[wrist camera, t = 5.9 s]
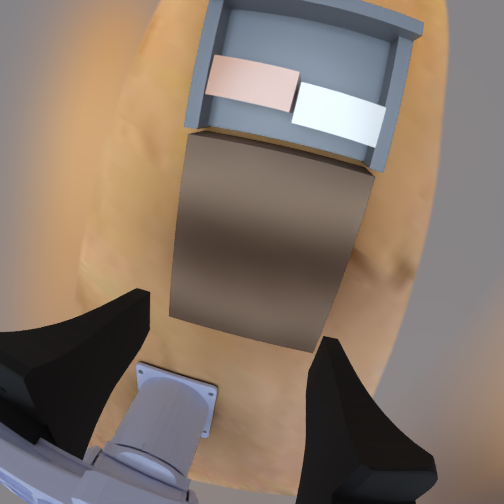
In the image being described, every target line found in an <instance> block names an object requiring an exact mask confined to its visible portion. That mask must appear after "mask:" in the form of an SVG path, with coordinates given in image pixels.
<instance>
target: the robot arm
mask: <svg viewBox="0 0 504 504" xmlns="http://www.w3.org/2000/svg"><path fill="white" fill-rule="evenodd" d="M149 330H150V292H148V291H145V290H142V289H139V288H136V289H134V290H132V291H130V292H128V293H126V294H124V295H122V296H120V297H118V298H117V299H115V300H113V301H111V302H109V303H107V304H105V305H103V306H101V307H98V308H96V309H94V310H92V311H89V312H87V313H85V314H83V315H80V316H78V317H75V318H73V319H70V320H67V321H64V322H61V323H57V324H53V325H49V326H45V327H41V328H36V329H31V330H23V331H15V332H0V483H2V484H3V485H4V486H5V487H7V488H8V489H9V490H11V491H12V492H13V493H15V494H16V495H17V496H19V497H20V498H21V499H23V500H24V501H25V502H27V503H28V504H198V499H197V497H196V494H195V492H194V491H192V490H189V489H188V488H189V485H190V482H191V479H189V478H187V475H188V472H189V469H190V466H191V463H192V461H193V458H194V455H195V452H196V449H197V446H198V443H199V440H200V437H202V438H208V436H209V432H210V427H211V421H212V416H213V411H214V406H215V401H216V396H217V391H218V389H217V387H216V386H214V385H211V384H207V383H204V382H200V381H197V380H193V379H190V378H187V377H183V376H180V375H177V374H174V373H171V372H168V371H165V370H162V369H159V368H156V367H153V366H150V365H147V364H144V363H141V362H139V363H137V365H136V373H137V385H138V393H137V395H136V397H135V398H134V400H133V402H132V404H131V406H130V407H129V409H128V411H127V413H126V415H125V416H124V418H123V420H122V422H121V424H120V426H119V427H118V429H117V431H116V433H115V435H114V437H113V438H112V440H111V442H110V441H107V443H106V445H105V447H104V449H102V448H100V447H99V446H94V447H91V448H88V449H87V447H88V444H89V441H90V439H91V436H92V434H93V431H94V429H95V426H96V424H97V422H98V419H99V417H100V415H101V413H102V411H103V408H104V406H105V404H106V402H107V400H108V398H109V396H110V394H111V392H112V391H113V389H114V387H115V386H116V384H117V383H118V381H119V380H120V378H121V377H122V375H123V374H124V372H125V371H126V369H127V368H128V366H129V365H130V363H131V362H132V361H133V359H134V358H135V356H136V355H137V353H138V352H139V350H140V349H141V347H142V345H143V343H144V341H145V339H146V337H147V334H148V332H149ZM102 450H103V451H102ZM437 480H438V477H437V471H436V465H435V462H434V458H433V456H432V455H431V454H429V453H428V452H427V451H425V450H424V449H422V448H421V447H420V446H418V445H417V444H415V443H414V442H413V441H412V440H411V439H410V438H408V437H407V436H406V435H405V434H404V433H403V432H401V431H400V430H399V429H398V428H397V427H396V426H395V425H394V424H393V423H392V421H390V419H389V418H388V417H387V416H386V415H385V414H384V413H383V412H382V410H381V409H380V408H379V407H378V405H377V404H376V403H375V402H374V400H373V399H372V398H371V396H370V395H369V393H368V392H367V390H366V389H365V387H364V386H363V384H362V383H361V381H360V379H359V378H358V376H357V374H356V372H355V371H354V369H353V367H352V365H351V363H350V361H349V359H348V358H347V356H346V354H345V352H344V350H343V348H342V346H341V344H340V342H339V340H338V339H335V338H330V337H325V336H323V339H322V341H321V343H320V346H319V348H318V351H317V353H316V355H315V358H314V360H313V362H312V365H311V367H310V369H309V372H308V380H307V388H306V443H305V452H304V460H303V466H302V472H301V478H300V484H299V489H298V494H297V499H296V504H416V502H415V500H416V499H417V498H419V497H420V496H421V495H423V494H424V493H426V492H427V491H428V490H429V489H431V488H432V487H433V486H434V484H435V483H436V481H437Z"/></svg>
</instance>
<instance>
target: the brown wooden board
mask: <svg viewBox="0 0 504 504" xmlns="http://www.w3.org/2000/svg"><path fill="white" fill-rule="evenodd" d="M374 179H375V177H374V176H373V175H372V174H371V173H370V172H369V171H368V170H367V169H366V168H364V167H361V166H358V165H354V164H351V163H347V162H344V161H340V160H336V159H333V158H329V157H325V156H321V155H317V154H314V153H310V152H306V151H302V150H297V149H293V148H289V147H285V146H280V145H276V144H271V143H267V142H262V141H257V140H252V139H247V138H242V137H237V136H232V135H226V134H221V133H215V132H209V131H201V132H196V133H191V134H188V139H187V145H186V152H185V159H184V166H183V173H182V181H181V189H180V197H179V205H178V214H177V223H176V233H175V243H174V254H173V265H172V278H171V291H170V307H169V316H170V317H173V318H177V319H180V320H183V321H187V322H190V323H194V324H197V325H201V326H204V327H208V328H211V329H215V330H219V331H222V332H226V333H230V334H234V335H238V336H241V337H245V338H249V339H253V340H257V341H262V342H266V343H270V344H274V345H278V346H283V347H287V348H291V349H296V350H300V351H305V352H310V353H313V351H314V349H315V347H316V344H317V342H318V340H319V337H320V335H321V332H322V330H323V327H324V325H325V322H326V320H327V317H328V315H329V312H330V310H331V307H332V304H333V302H334V299H335V296H336V294H337V291H338V288H339V286H340V283H341V280H342V278H343V275H344V272H345V269H346V266H347V264H348V261H349V258H350V255H351V252H352V249H353V246H354V243H355V240H356V237H357V234H358V231H359V228H360V225H361V222H362V219H363V216H364V212H365V209H366V206H367V203H368V199H369V196H370V193H371V189H372V186H373V183H374Z"/></svg>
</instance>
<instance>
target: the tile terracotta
mask: <svg viewBox="0 0 504 504" xmlns="http://www.w3.org/2000/svg"><path fill="white" fill-rule="evenodd" d="M300 83H301V77H300V72H299V71H295V70H291V69H287V68H282V67H278V66H274V65H269V64H264V63H260V62H255V61H250V60H244V59H239V58H233V57H227V56H221V55H214V59H213V63H212V67H211V71H210V75H209V79H208V83H207V87H206V92H205V94H208V95H214V96H219V97H224V98H229V99H234V100H239V101H244V102H248V103H253V104H257V105H261V106H266V107H270V108H274V109H278V110H282V111H286V112H290V113H293V109H294V105H295V102H296V98H297V94H298V90H299V87H300Z"/></svg>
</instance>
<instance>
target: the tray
mask: <svg viewBox="0 0 504 504" xmlns="http://www.w3.org/2000/svg"><path fill="white" fill-rule="evenodd" d="M423 26H424V22H421V21H419V20H416V19H414V18H411V17H409V16H406V15H403V14H401V13H398V12H395V11H392V10H389V9H386V8H383V7H380V6H377V5H374V4H371V3H367V2H364V1H361V0H209V4H208V8H207V12H206V16H205V21H204V25H203V29H202V34H201V38H200V43H199V47H198V52H197V57H196V62H195V67H194V72H193V77H192V82H191V88H190V93H189V99H188V104H187V110H186V116H185V122H184V127H188V128H194V129H200V128H206V127H210V126H213V127H218V128H224V129H230V130H235V131H241V132H246V133H251V134H256V135H261V136H265V137H270V138H275V139H279V140H284V141H288V142H292V143H297V144H301V145H305V146H309V147H313V148H317V149H321V150H325V151H328V152H332V153H336V154H339V155H343V156H347V157H350V158H354V159H357V160H360V161H362V162H363V163H364V164H365V165H366V166H367V167H368V168H370V169H373V170H376V171H379V172H384V168H385V165H386V161H387V157H388V154H389V150H390V146H391V142H392V138H393V134H394V130H395V126H396V122H397V118H398V114H399V109H400V105H401V101H402V96H403V91H404V87H405V82H406V77H407V72H408V67H409V61H410V56H411V50H412V44H413V41H414V40H416V39H417V38H419V37H421V36H422V33H423ZM214 55H221V56H227V57H233V58H239V59H244V60H250V61H255V62H260V63H264V64H269V65H274V66H278V67H282V68H287V69H291V70H295V71H299V72H300V77H301V82H304V83H308V84H312V85H316V86H319V87H323V88H327V89H330V90H334V91H337V92H340V93H344V94H347V95H350V96H353V97H357V98H360V99H363V100H366V101H369V102H372V103H374V104H377V105H380V106H383V107H386V111H385V115H384V119H383V122H382V126H381V130H380V133H379V137H378V140H377V144H376V147H375V148H374V147H371V146H368V145H365V144H362V143H359V142H356V141H353V140H350V139H347V138H343V137H340V136H337V135H333V134H330V133H327V132H323V131H320V130H316V129H313V128H309V127H305V126H301V125H298V124H294V123H291V122H292V118H293V114H294V110H295V106H296V102H297V98H298V94H299V90H300V87H299V90H298V94H297V98H296V102H295V105H294V109H293V113H290V112H286V111H282V110H278V109H274V108H270V107H266V106H261V105H257V104H253V103H248V102H244V101H239V100H234V99H229V98H224V97H219V96H214V95H208V94H205V92H206V87H207V83H208V79H209V75H210V71H211V67H212V63H213V59H214ZM300 86H301V83H300Z"/></svg>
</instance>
